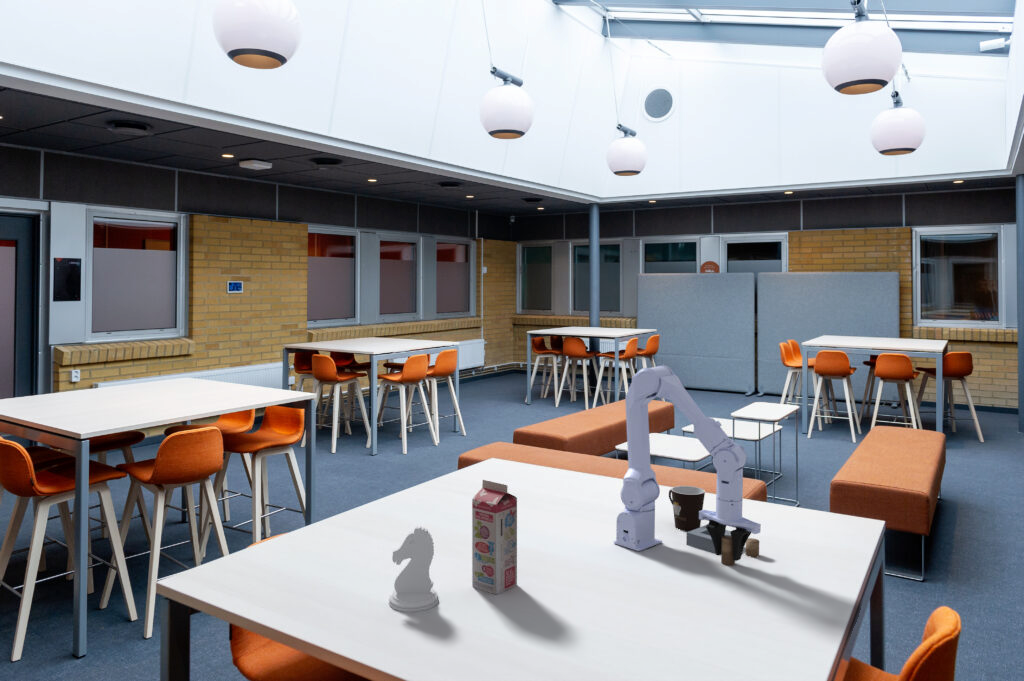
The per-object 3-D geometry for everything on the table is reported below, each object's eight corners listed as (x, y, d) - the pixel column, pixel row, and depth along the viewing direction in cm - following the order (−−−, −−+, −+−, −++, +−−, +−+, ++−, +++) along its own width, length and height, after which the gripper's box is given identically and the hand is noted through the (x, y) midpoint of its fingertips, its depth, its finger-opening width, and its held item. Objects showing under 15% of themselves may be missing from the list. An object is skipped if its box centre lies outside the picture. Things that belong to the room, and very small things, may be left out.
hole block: (718, 554, 168) (719, 541, 168) (686, 544, 175) (686, 532, 174) (738, 545, 174) (739, 533, 174) (706, 536, 181) (707, 524, 181)
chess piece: (392, 591, 146) (391, 519, 146) (440, 591, 147) (439, 519, 146) (385, 612, 137) (384, 535, 136) (436, 611, 137) (436, 535, 136)
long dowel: (730, 566, 160) (731, 540, 160) (718, 563, 162) (719, 537, 162) (737, 563, 162) (738, 537, 162) (725, 559, 164) (726, 534, 164)
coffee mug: (708, 532, 183) (708, 494, 183) (674, 532, 184) (675, 494, 183) (697, 519, 195) (697, 483, 194) (665, 518, 195) (666, 482, 195)
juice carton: (492, 577, 154) (492, 476, 153) (516, 584, 150) (517, 481, 149) (472, 586, 149) (472, 482, 148) (496, 594, 145) (496, 488, 143)
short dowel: (754, 558, 166) (755, 543, 165) (743, 554, 168) (743, 540, 168) (761, 555, 168) (761, 540, 167) (749, 551, 170) (750, 537, 170)
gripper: (768, 501, 159) (766, 561, 160) (710, 488, 170) (709, 544, 170) (751, 507, 154) (750, 569, 155) (694, 494, 165) (693, 551, 166)
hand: (728, 557), depth 162 cm, fingers open, 4 cm apart
